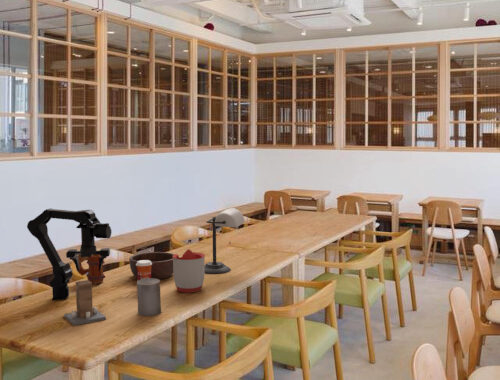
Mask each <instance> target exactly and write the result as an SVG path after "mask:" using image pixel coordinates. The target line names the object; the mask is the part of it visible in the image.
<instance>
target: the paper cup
mask: <svg viewBox="0 0 500 380" xmlns="http://www.w3.org/2000/svg"><path fill="white" fill-rule="evenodd" d="M136 265H137V276H138V278H137V281H138V280H141V279H146V278H151V265H152V262H151V261H149V260H140V261H137V264H136Z"/></svg>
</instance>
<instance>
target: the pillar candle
mask: <svg viewBox="0 0 500 380" xmlns="http://www.w3.org/2000/svg"><path fill="white" fill-rule="evenodd" d="M136 293H137V295H136V296H137V314H138V315H140V316H143V317H146V316H148V317H149V316H150V317H151V316H156V315H159V314H160V313H162V304H161V303H162V302H161V300H162V299H161V279H155V278H146V279H141V280H138V279H137V282H136Z"/></svg>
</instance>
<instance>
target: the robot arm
mask: <svg viewBox="0 0 500 380" xmlns="http://www.w3.org/2000/svg"><path fill="white" fill-rule="evenodd" d="M51 219H57V220H68V221H69V220H70V221H74V222H76V223H79V224H78V225H77V226H76V229H80V234H81V235H80V238H81V245H80V249H79V250H78V249H77V248H76V249H75V248H72V249H68V250H67V251H66V253H65V255H66V258H67V259H69V260H71V261H72V262H73V263H74V266H75V265H76V266H75V269H76V268H77V269H76V271H77V270H78V271H77V272H79V270H80V268H79V259H78V256H79V255H80V256H81V257H91V256H92V255H100V257H99V271H100V269H101V266H102V263H103V261H104V260H105V259H107V257H109V256H110V255H111V249H110V248H109V247H108V248H107V247H106V248H105V247H101V248H100V250H97V246H96V245H95V244H96V243H95V241H96V240H95V238H96V239H111V237H112V228H111V226H110V223H108V222H106V223H101V221H100V220H99V218H98V217H97V216H96V213H95V211H94V210H92V209H81V210H66V209H55V208H54V209H53V208H47V209H45V210H43V211H42V212H41V213H40V214H38V215H37V216H36V217H35V218H34V219H31V220H29V221H28V222H27V225H26V228H27V231H28V232H29V233H30V235H32V236H33V237H34V238H35V239H37V241H38V242H39V244H40V246H41V248H42V249H43V250H42V251H44V254H45V256H46V257H47V259H48V261H49V262H50V264H51V267H52V275H53V279H51V280H50V281H49V286H50V287H51V288H52V289H51V290H52V298H51V300H53V301H54V300H59V301H60V300H67V299H68V298H69V296H70V286H68V285H69V283H70V280H71V279H72V278H73V271H74V270H73V269H72V267H71V266H70V263H69V262H67V263H65V262H64V261H62V258H61V256H60V255H59V253H58V251H57V249H56V247H55V245H54V243H53V242H52V239H51V238H50V236H49V233H48V231H49V230H48V225H47V224H48V223H49V222H50V221H51Z"/></svg>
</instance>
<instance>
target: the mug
mask: <svg viewBox="0 0 500 380" xmlns="http://www.w3.org/2000/svg"><path fill="white" fill-rule="evenodd" d="M77 256H78V259H79V268H80V270H79V272H78V270H77V268H76V265H75V264H74V266H75V269H76V271H77V272H78V274H79V275H81V276H85V275H86V277H87V280H88V281H90V282H91V283H92V285H93V284H95V285H96V284H101V283H102V282H104V279H105V278H106V275H105V274H104V266H103V265H104V264H105V261H104V260H103V263H102V266H101V269H100V271H99V257H100V255H92V256H91V257H81V256H80V255H77ZM85 261H86V264H87V265H88V268H84V267H83V266H82V265H83V264H82V263H84V262H85Z"/></svg>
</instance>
